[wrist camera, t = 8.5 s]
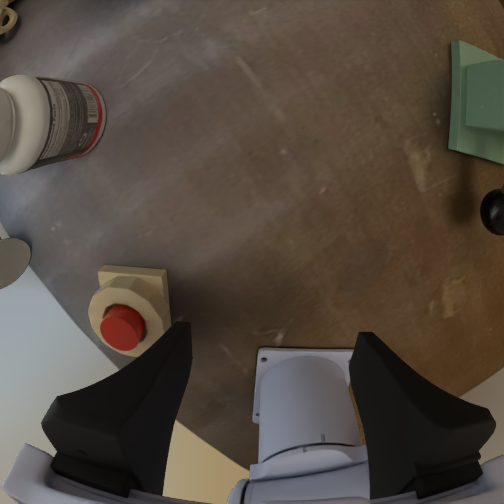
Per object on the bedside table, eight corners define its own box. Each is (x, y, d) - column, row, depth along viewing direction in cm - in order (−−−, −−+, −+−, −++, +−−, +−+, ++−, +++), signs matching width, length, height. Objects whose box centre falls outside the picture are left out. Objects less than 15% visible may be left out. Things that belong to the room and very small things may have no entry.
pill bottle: (41, 150, 18) (-59, 177, 9) (57, 79, 16) (-45, 72, 7) (98, 165, 19) (-2, 200, 10) (118, 87, 17) (17, 71, 8)
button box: (177, 338, 24) (168, 363, 21) (112, 329, 24) (98, 351, 21) (171, 269, 21) (159, 290, 19) (100, 263, 22) (81, 282, 19)
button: (147, 340, 21) (140, 354, 19) (112, 335, 21) (104, 347, 19) (142, 306, 20) (134, 319, 18) (105, 302, 20) (95, 314, 18)
